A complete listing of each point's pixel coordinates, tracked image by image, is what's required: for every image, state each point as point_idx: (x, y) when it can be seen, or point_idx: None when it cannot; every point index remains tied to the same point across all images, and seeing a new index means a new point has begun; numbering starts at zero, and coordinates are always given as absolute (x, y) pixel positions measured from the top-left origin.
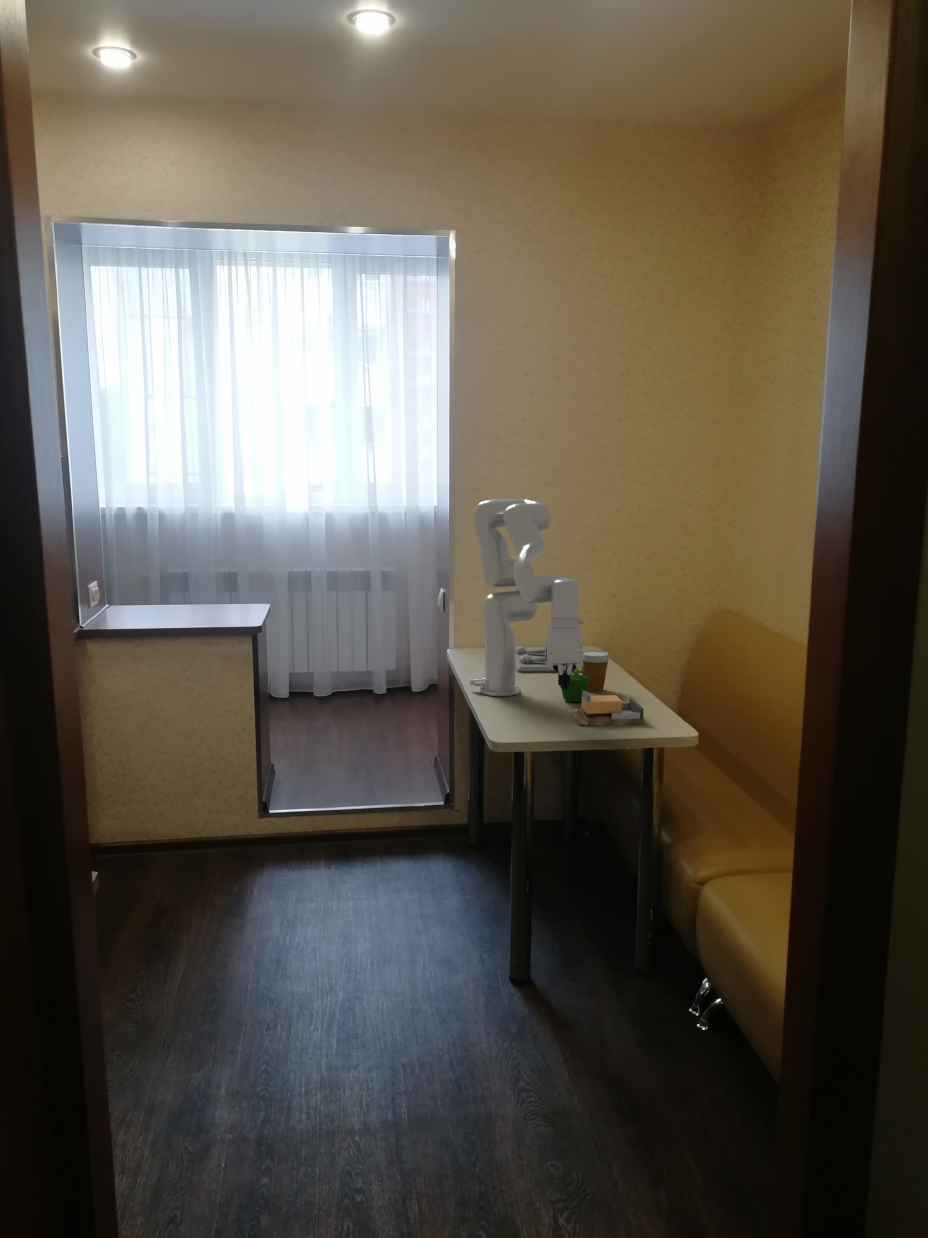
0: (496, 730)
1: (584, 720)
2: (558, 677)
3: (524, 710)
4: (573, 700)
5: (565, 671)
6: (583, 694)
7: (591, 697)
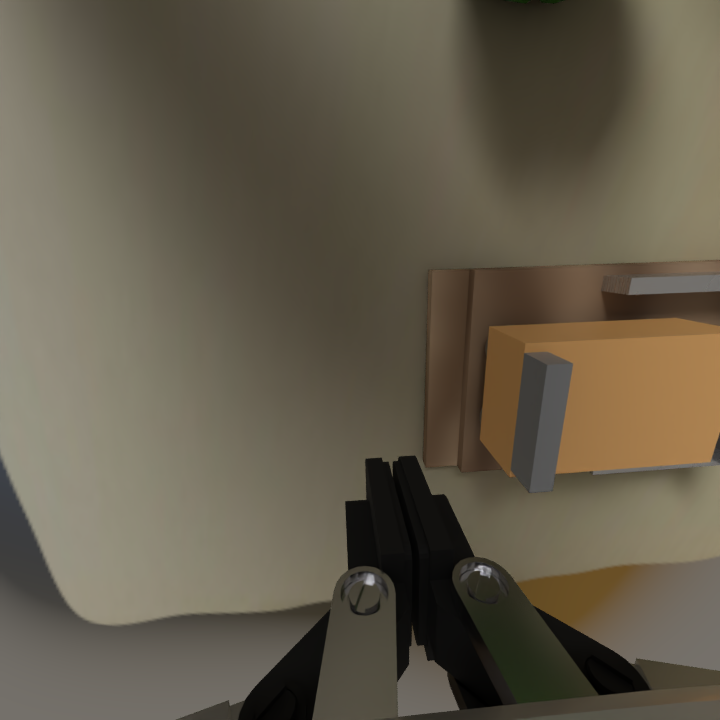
0: (46, 512)
1: (457, 424)
2: (348, 558)
3: (170, 177)
4: (515, 1)
5: (443, 638)
6: (532, 396)
7: (573, 384)
